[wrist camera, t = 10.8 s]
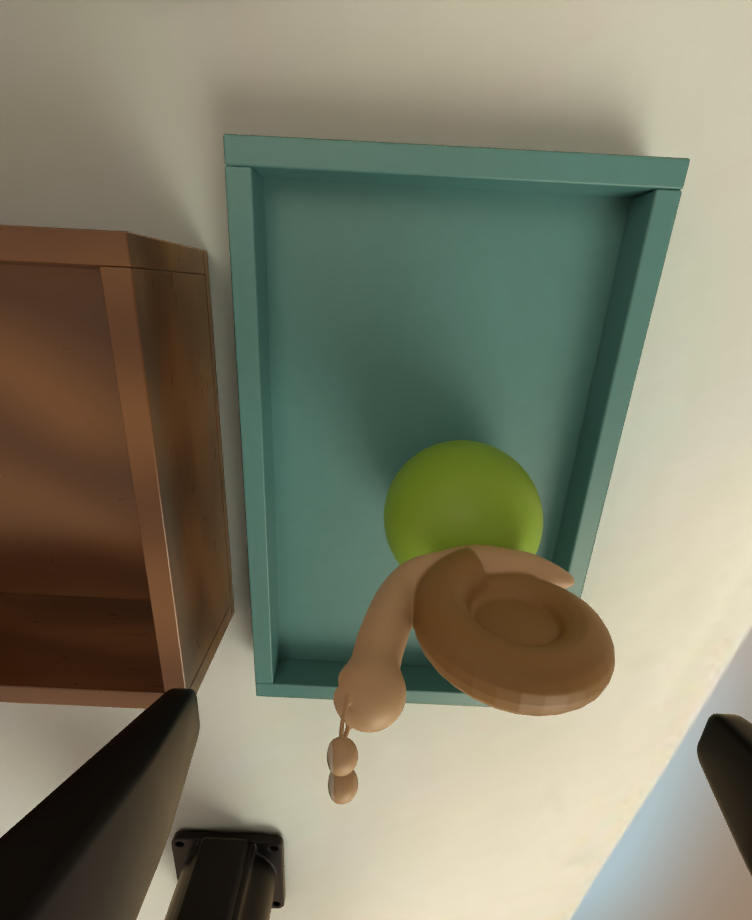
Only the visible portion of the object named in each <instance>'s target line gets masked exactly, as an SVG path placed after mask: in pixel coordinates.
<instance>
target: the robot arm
mask: <svg viewBox="0 0 752 920" xmlns="http://www.w3.org/2000/svg"><path fill="white" fill-rule="evenodd" d="M199 728H200V721H199V712H198V704H197V696H196V692H195V691H194V690H193V689H187V688H172V689H169V690H168V691H166V692H165V693H164V694H163V695H162V696H161V697H159V698H158V699H157V700H156V701H155V702H154V703H153V704H152V705H150V706H149V707H148V708H147V709H146V710H145V711H144V712H142V713H141V714H140V715H139V716H138V717H137V718H136V719H135V720H133V721H132V722H131V723H130V724H129V725H128V726H127V727H125V728H124V729H123V730H122V731H121V732H120V733H119V734H118V735H116V736H115V737H114V738H113V739H112V740H111V741H110V742H109V743H107V744H106V745H105V746H104V747H103V748H102V749H101V750H99V751H98V752H97V753H96V754H95V755H94V756H93V757H92V758H90V759H89V760H88V761H87V762H86V763H85V764H84V765H82V766H81V767H80V768H79V769H78V770H77V771H76V772H75V773H73V774H72V775H71V776H70V777H69V778H68V779H67V780H66V781H64V782H63V783H62V784H61V785H60V786H59V787H58V788H56V789H55V790H54V791H53V792H52V793H51V794H50V795H49V796H47V797H46V798H45V799H44V800H43V801H42V802H41V803H39V804H38V805H37V806H36V807H35V808H34V809H33V810H32V811H30V812H29V813H28V814H27V815H26V816H25V817H24V818H23V819H21V820H20V821H19V822H18V823H17V824H16V825H15V826H13V827H12V828H11V829H10V830H9V831H8V832H7V833H6V834H4V835H3V836H2V837H1V838H0V920H136V919H137V916H138V914H139V911H140V909H141V906H142V904H143V901H144V899H145V896H146V894H147V891H148V888H149V886H150V883H151V881H152V878H153V876H154V873H155V871H156V868H157V866H158V863H159V861H160V858H161V855H162V853H163V850H164V847H165V845H166V842H167V839H168V836H169V833H170V830H171V826H172V823H173V820H174V816H175V813H176V810H177V806H178V803H179V800H180V796H181V793H182V789H183V786H184V783H185V779H186V776H187V773H188V769H189V766H190V763H191V759H192V756H193V752H194V749H195V746H196V742H197V739H198V735H199ZM697 754H698V759H699V762H700V764H701V767H702V769H703V771H704V773H705V776H706V778H707V780H708V782H709V784H710V787H711V789H712V791H713V793H714V796H715V798H716V800H717V802H718V805H719V807H720V809H721V811H722V813H723V816H724V818H725V820H726V822H727V825H728V827H729V829H730V831H731V833H732V836H733V838H734V840H735V842H736V845H737V847H738V849H739V851H740V853H741V855H742V857H743V860H744V862H745V864H746V866H747V868H748V870H749V872H750V874H751V876H752V724H751V723H750V722H748V721H747V720H745V719H744V718H742V717H740V716H738V715H733V714H713V715H711V716H710V717H709V719H708V721H707V723H706V726H705V728H704V731H703V733H702V736H701V738H700V740H699V743H698V746H697ZM172 850H173V856H174V861H175V867H176V873H177V879H178V883H177V885H176V888H175V891H174V894H173V897H172V900H171V903H170V906H169V909H168V911H167V914H166V917H165V920H269V918H270V912H271V908H281V907H283V906H284V901H285V874H284V847H283V839H282V838H281V837H279V836H276V835H257V834H235V833H213V832H190V831H178V832H176V833H175V835H174V837H173V840H172Z"/></svg>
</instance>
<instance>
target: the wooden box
mask: <svg viewBox="0 0 752 920" xmlns="http://www.w3.org/2000/svg"><path fill="white" fill-rule="evenodd" d="M233 614H234V601H233V588H232V574H231V561H230V548H229V535H228V522H227V508H226V495H225V482H224V469H223V455H222V442H221V429H220V416H219V403H218V389H217V376H216V363H215V350H214V336H213V323H212V310H211V297H210V283H209V270H208V257H207V251H205V250H201V249H197V248H193V247H189V246H184V245H180V244H176V243H172V242H168V241H163V240H159V239H155V238H151V237H147V236H143V235H138V234H134V233H130V232H126V231H109V230H90V229H71V228H51V227H32V226H13V225H0V702H12V703H34V704H55V705H77V706H98V707H120V708H141V709H147V708H148V707H149V706H150V705H152V704H153V703H154V702H155V701H156V700H157V699H158V698H159V697H161V696H162V695H163V694H164V693H165V692H166V691H168V690H169V689H172V688H187V689H193V690H194V691H195V692H196V694H197V691H198V689H199V687H200V685H201V683H202V681H203V678H204V676H205V674H206V672H207V670H208V668H209V665H210V663H211V661H212V659H213V657H214V655H215V653H216V650H217V648H218V646H219V644H220V642H221V640H222V637H223V635H224V633H225V631H226V629H227V627H228V624H229V622H230V620H231V618H232V616H233Z"/></svg>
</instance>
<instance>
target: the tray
mask: <svg viewBox="0 0 752 920" xmlns="http://www.w3.org/2000/svg"><path fill="white" fill-rule="evenodd" d="M223 140H224V157H225V165H226V166H225V177H226V194H227V211H228V227H229V244H230V261H231V278H232V295H233V311H234V328H235V345H236V362H237V379H238V396H239V412H240V429H241V446H242V463H243V480H244V496H245V513H246V530H247V547H248V564H249V581H250V597H251V614H252V631H253V648H254V665H255V681H256V695H257V696H268V697H289V698H311V699H332V700H333V696H334V692H335V690H336V689H337V687H338V686H339V683H338V677H339V674H340V672H341V670H342V669H343V667H344V666H345V665H346V664H347V663H348V661H349V660H350V658H351V656H352V653H353V649H354V646H355V642H356V638H357V635H358V632H359V629H360V627H361V624H362V622H363V619H364V617H365V615H366V612H367V610H368V608H369V605H370V603H371V601H372V599H373V597H374V596H375V594H376V592H377V590H378V589H379V587H380V586H381V584H382V583H383V582H384V581H385V579H386V578H387V577H388V576H389V575H390V574H391V573H392V572H393V571H394V570H395V569H396V568H397V567H398V566H399V563H398V562H397V560H396V559H395V557H394V555H393V553H392V551H391V549H390V547H389V544H388V541H387V538H386V534H385V528H384V506H385V500H386V496H387V493H388V490H389V488H390V485H391V483H392V481H393V479H394V478H395V476H396V475H397V473H398V472H399V470H400V469H401V468H402V467H403V466H404V464H405V463H406V462H407V461H408V460H410V459H411V458H412V457H413V456H415V455H416V454H417V453H419V452H420V451H422V450H424V449H426V448H428V447H430V446H433V445H435V444H438V443H442V442H447V441H453V440H470V441H476V442H481V443H485V444H488V445H491V446H493V447H495V448H497V449H499V450H501V451H503V452H505V453H506V454H508V455H509V456H510V457H512V458H513V459H514V460H515V461H517V462H518V463H519V464H520V465H521V466H522V468H523V469H524V470H525V471H526V472H527V474H528V475H529V477H530V478H531V480H532V481H533V483H534V485H535V487H536V489H537V492H538V494H539V497H540V501H541V505H542V511H543V530H542V537H541V541H540V544H539V547H538V550H537V552H536V554H535V555H537V556H540V557H542V558H544V559H546V560H548V561H550V562H552V563H554V564H556V565H558V566H559V567H561V568H563V569H564V570H566V571H567V572H568V573H569V574H571V575H572V577H573V578H574V581H575V583H574V585H573V586H571V587H569V588H566V590H568V591H569V592H571V593H573V594H575V595H576V596H578V597H579V598H581V594H582V590H583V586H584V582H585V578H586V574H587V570H588V566H589V562H590V558H591V554H592V550H593V546H594V542H595V538H596V534H597V530H598V526H599V522H600V518H601V514H602V510H603V506H604V502H605V498H606V494H607V490H608V486H609V482H610V478H611V474H612V470H613V466H614V462H615V458H616V454H617V450H618V446H619V442H620V438H621V434H622V430H623V426H624V422H625V418H626V414H627V410H628V405H629V401H630V397H631V393H632V389H633V385H634V381H635V377H636V373H637V369H638V365H639V361H640V357H641V353H642V349H643V345H644V341H645V337H646V333H647V329H648V325H649V321H650V317H651V313H652V309H653V305H654V301H655V297H656V293H657V289H658V285H659V281H660V277H661V273H662V269H663V265H664V261H665V257H666V253H667V249H668V245H669V241H670V237H671V233H672V229H673V225H674V221H675V217H676V213H677V209H678V205H679V201H680V197H681V191H680V190H681V189H682V188H683V186H684V182H685V178H686V174H687V170H688V166H689V162H690V159H688V158H671V157H652V156H634V155H615V154H596V153H577V152H558V151H539V150H520V149H501V148H482V147H463V146H445V145H426V144H407V143H388V142H369V141H350V140H331V139H312V138H293V137H274V136H256V135H237V134H224V136H223ZM400 671H401V673H402V676H403V678H404V681H405V685H406V701H405V703H418V704H439V705H461V706H482V707H491V706H489V705H486V704H484V703H482V702H479V701H477V700H475V699H473V698H471V697H470V696H468V695H467V694H465V693H463V692H462V691H460V690H459V689H457V688H456V687H454V686H453V685H452V684H451V683H450V682H449V681H447V680H446V679H445V678H444V677H443V676H442V675H441V674H440V673H439V672H438V671H437V670H436V669H435V668H434V666H433V665H432V664H431V663H430V661H429V660H428V659H427V657H426V656H425V654H424V653H423V651H422V649H421V647H420V644H419V642H418V640H417V637H416V634H415V630H414V628H412V629H411V631H410V634H409V637H408V640H407V643H406V647H405V650H404V653H403V657H402V661H401V666H400Z"/></svg>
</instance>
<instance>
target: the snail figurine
mask: <svg viewBox="0 0 752 920" xmlns="http://www.w3.org/2000/svg"><path fill="white" fill-rule="evenodd" d="M384 528H385V534H386V538H387V541H388V544H389V547H390V549H391V551H392V553H393V555H394V557H395V559H396V560H397V562H398V563H399V566H398V567H397V568H396V569H395V570H394V571H393V572H392V573H391V574H390V575H389V576H388V577H387V578H386V579H385V581H384V582H383V583H382V584H381V586H380V587H379V589H378V590H377V592H376V594H375V596H374V597H373V599H372V601H371V603H370V605H369V608H368V610H367V612H366V615H365V617H364V619H363V622H362V624H361V627H360V629H359V632H358V635H357V638H356V642H355V646H354V649H353V653H352V656H351V658H350V660H349V661H348V663H347V664H346V665H345V666H344V667H343V669H342V670H341V672H340V674H339V677H338V683H339V686H338V687H337V689H336V690H335V692H334V696H333V700H334V705H335V708H336V711H337V713H338V714H339V716H340V717H341V723H340V731H339V737H337V738H335V739H333V740H332V741H331V742H330V744H329V747H328V752H327V762H328V766H329V769H330V771H331V772H330V775H329V780H328V790H329V794H330V797H331V799H332V800H333V801H334V802H335V803H337V804H346V803H348V802H349V801H351V800H352V799H353V798H354V796H355V794H356V792H357V788H358V779H357V775H356V773H355V771H354V770H353V769H354V768H355V766H356V764H357V760H358V751H357V748H356V745H355V744H354V742H353V741H352V740H350V739H349V738H347V736H348V733H349V731H350V729H352V728H353V729H356V730H358V731H362V732H377V731H380V730H383V729H385V728H387V727H388V726H390V725H391V724H392V723H393V722H394V721H395V720H396V719H397V718H398V717H399V715H400V714H401V712H402V710H403V708H404V705H405V701H406V685H405V681H404V678H403V676H402V673H401V671H400V666H401V661H402V657H403V653H404V650H405V647H406V643H407V640H408V637H409V634H410V631H411V629H412V628H414V630H415V634H416V637H417V640H418V642H419V644H420V647H421V649H422V651H423V653H424V654H425V656H426V657H427V659H428V660H429V661H430V663H431V664H432V665H433V666H434V668H435V669H436V670H437V671H438V672H439V673H440V674H441V675H442V676H443V677H444V678H445V679H446V680H447V681H449V682H450V683H451V684H452V685H453V686H454V687H456V688H457V689H459V690H460V691H462V692H463V693H465V694H467V695H468V696H470V697H471V698H473V699H475V700H477V701H479V702H482V703H484V704H486V705H489V706H491V707H493V708H496V709H500V710H504V711H507V712H511V713H515V714H522V715H532V716H546V715H558V714H563V713H566V712H570V711H573V710H576V709H579V708H582V707H584V706H585V705H587V704H589V703H590V702H592V701H594V700H595V699H596V698H597V697H598V696H599V695H600V694H601V693H602V692H603V690H604V689H605V688H606V686H607V685H608V683H609V681H610V679H611V676H612V674H613V671H614V665H615V655H614V646H613V642H612V639H611V636H610V634H609V631H608V629H607V628H606V626H605V624H604V623H603V621H602V620H601V618H600V617H599V616H598V614H597V613H596V612H595V611H594V610H593V609H592V608H591V607H590V606H589V605H588V604H587V603H586V602H584V601H583V600H582V599H580V598H579V597H578V596H576V595H575V594H573V593H571V592H569V591H568V590H566V588H569V587H571V586H573V585H574V583H575V581H574V578H573V577H572V575H571V574H569V573H568V572H567V571H566V570H564V569H563V568H561V567H559V566H558V565H556V564H554V563H552V562H550V561H548V560H546V559H544V558H542V557H540V556H537V555H535V554H536V552H537V550H538V547H539V544H540V541H541V537H542V530H543V511H542V505H541V501H540V497H539V494H538V492H537V489H536V487H535V485H534V483H533V481H532V480H531V478H530V477H529V475H528V474H527V472H526V471H525V470H524V469H523V468H522V466H521V465H520V464H519V463H518V462H517V461H515V460H514V459H513V458H512V457H510V456H509V455H508V454H506V453H505V452H503V451H501V450H499V449H497V448H495V447H493V446H491V445H488V444H485V443H481V442H476V441H470V440H453V441H447V442H442V443H438V444H435V445H433V446H430V447H428V448H426V449H424V450H422V451H420V452H419V453H417V454H416V455H415V456H413V457H412V458H411V459H410V460H408V461H407V462H406V463H405V464H404V466H403V467H402V468H401V469H400V470H399V472H398V473H397V475H396V476H395V478H394V479H393V481H392V483H391V485H390V488H389V490H388V493H387V496H386V500H385V506H384ZM344 722H345V723H346V729H345V732H344Z"/></svg>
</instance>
